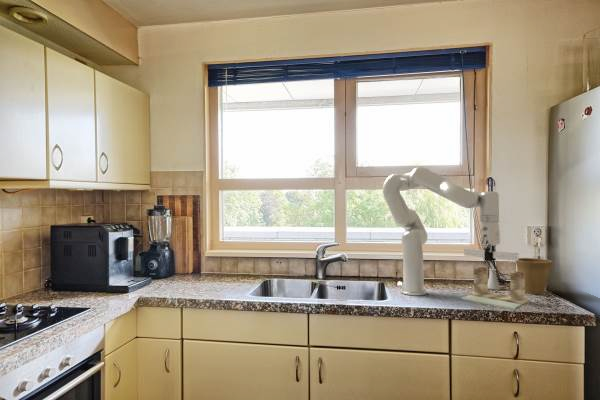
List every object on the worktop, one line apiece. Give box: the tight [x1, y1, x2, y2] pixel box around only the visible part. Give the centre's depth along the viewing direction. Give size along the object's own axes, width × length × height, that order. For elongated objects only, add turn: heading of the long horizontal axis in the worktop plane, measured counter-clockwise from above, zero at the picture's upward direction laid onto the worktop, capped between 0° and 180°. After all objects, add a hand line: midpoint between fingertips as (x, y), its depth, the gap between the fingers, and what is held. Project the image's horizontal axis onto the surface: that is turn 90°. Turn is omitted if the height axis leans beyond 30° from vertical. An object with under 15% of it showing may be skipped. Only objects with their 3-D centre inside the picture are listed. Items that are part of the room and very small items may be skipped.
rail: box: [463, 248, 520, 262], centre depth 166 cm, size 22×3×3 cm, turn 43°
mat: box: [461, 294, 521, 310], centre depth 166 cm, size 22×8×1 cm, turn 42°
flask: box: [488, 268, 501, 291], centre depth 191 cm, size 7×7×10 cm
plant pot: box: [515, 257, 552, 295], centre depth 182 cm, size 15×15×16 cm
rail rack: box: [470, 266, 529, 305], centre depth 173 cm, size 22×8×13 cm, turn 42°
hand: (490, 260), depth 166 cm, fingers closed on rail, 2 cm apart
